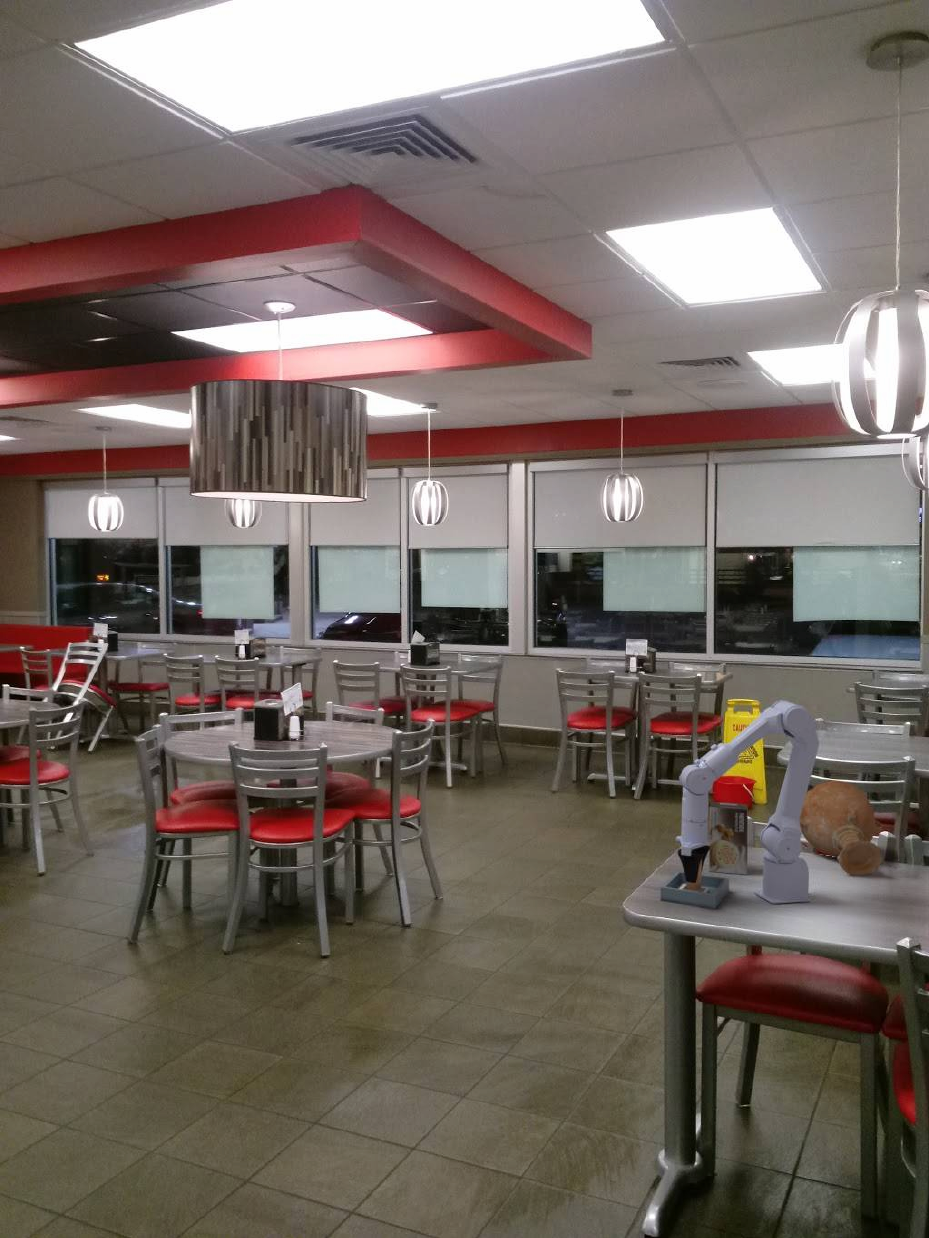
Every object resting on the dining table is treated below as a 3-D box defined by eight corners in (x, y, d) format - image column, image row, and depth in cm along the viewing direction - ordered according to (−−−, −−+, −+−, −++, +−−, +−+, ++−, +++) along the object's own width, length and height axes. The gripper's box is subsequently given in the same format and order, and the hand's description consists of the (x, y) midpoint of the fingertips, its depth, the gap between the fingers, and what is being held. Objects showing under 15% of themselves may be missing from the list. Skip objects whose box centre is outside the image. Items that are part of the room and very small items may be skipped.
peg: (697, 885, 232) (698, 854, 231) (702, 890, 229) (704, 859, 228) (684, 885, 231) (685, 855, 231) (689, 890, 228) (690, 859, 228)
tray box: (677, 883, 241) (677, 870, 241) (728, 891, 235) (729, 878, 235) (660, 900, 228) (660, 887, 228) (714, 909, 223) (715, 895, 223)
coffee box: (747, 868, 254) (749, 803, 253) (746, 875, 248) (748, 809, 247) (709, 864, 257) (711, 800, 256) (707, 871, 251) (709, 806, 250)
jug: (878, 802, 276) (924, 845, 246) (831, 855, 278) (871, 904, 249) (821, 758, 274) (860, 796, 244) (774, 811, 277) (807, 855, 247)
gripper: (685, 810, 237) (683, 868, 238) (668, 824, 224) (666, 885, 225) (716, 814, 234) (714, 873, 235) (700, 828, 221) (698, 890, 222)
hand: (693, 879), depth 230 cm, fingers closed on peg, 3 cm apart
